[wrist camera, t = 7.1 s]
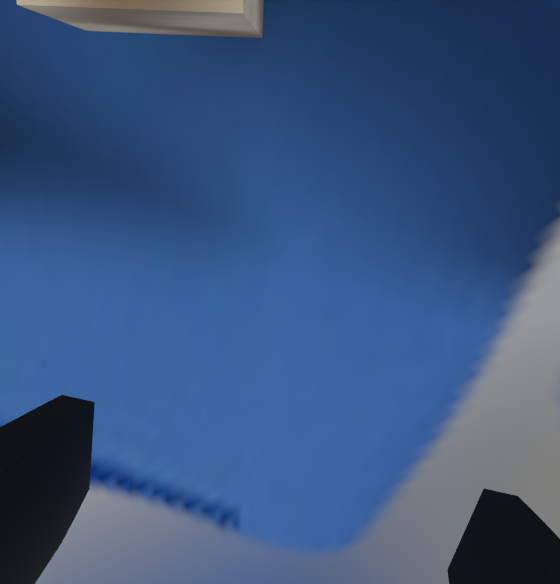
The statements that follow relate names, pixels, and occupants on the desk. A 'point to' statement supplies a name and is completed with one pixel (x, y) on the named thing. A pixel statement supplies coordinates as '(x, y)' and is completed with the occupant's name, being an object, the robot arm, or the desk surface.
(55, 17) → the beech base
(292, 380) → the desk surface
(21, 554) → the robot arm
